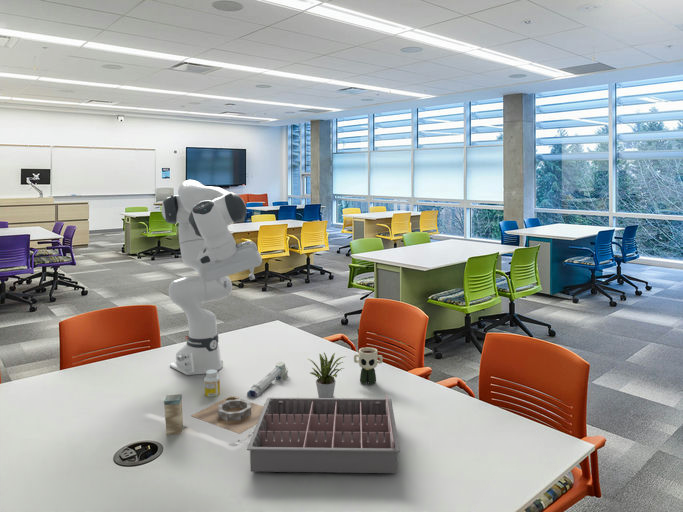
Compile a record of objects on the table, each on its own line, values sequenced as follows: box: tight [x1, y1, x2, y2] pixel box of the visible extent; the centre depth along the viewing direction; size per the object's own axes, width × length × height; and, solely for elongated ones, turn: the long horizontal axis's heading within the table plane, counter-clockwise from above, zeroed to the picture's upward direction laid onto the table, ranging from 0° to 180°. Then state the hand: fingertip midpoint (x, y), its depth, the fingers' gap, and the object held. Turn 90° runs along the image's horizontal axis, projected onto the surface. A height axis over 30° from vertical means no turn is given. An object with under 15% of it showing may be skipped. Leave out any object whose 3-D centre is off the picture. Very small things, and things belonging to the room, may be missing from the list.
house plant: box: [308, 352, 348, 398], centre depth 180 cm, size 14×14×16 cm
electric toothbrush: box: [246, 361, 289, 398], centre depth 191 cm, size 5×7×25 cm
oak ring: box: [223, 395, 240, 402], centre depth 175 cm, size 5×5×1 cm
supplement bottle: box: [203, 369, 221, 398], centre depth 181 cm, size 5×5×10 cm
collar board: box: [190, 398, 264, 435], centre depth 166 cm, size 22×18×4 cm
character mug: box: [353, 346, 383, 386], centre depth 193 cm, size 11×7×13 cm, turn 84°
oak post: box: [163, 393, 184, 436], centre depth 156 cm, size 4×4×11 cm
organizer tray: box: [246, 393, 401, 474], centre depth 147 cm, size 32×40×10 cm
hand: (239, 282), depth 169 cm, fingers open, 8 cm apart
